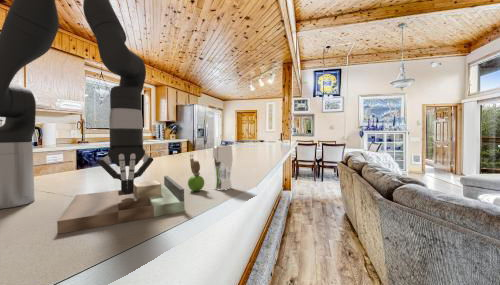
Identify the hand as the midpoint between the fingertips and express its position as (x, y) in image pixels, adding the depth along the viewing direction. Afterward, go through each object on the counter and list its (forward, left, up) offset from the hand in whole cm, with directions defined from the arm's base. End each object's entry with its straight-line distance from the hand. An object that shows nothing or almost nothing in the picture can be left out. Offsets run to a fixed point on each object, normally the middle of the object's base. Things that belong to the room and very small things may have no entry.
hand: (127, 193), depth 57 cm
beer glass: (+17, +25, -4) cm, 30 cm away
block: (+3, +4, -1) cm, 5 cm away
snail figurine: (+9, +20, -4) cm, 22 cm away
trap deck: (0, 0, -4) cm, 4 cm away
